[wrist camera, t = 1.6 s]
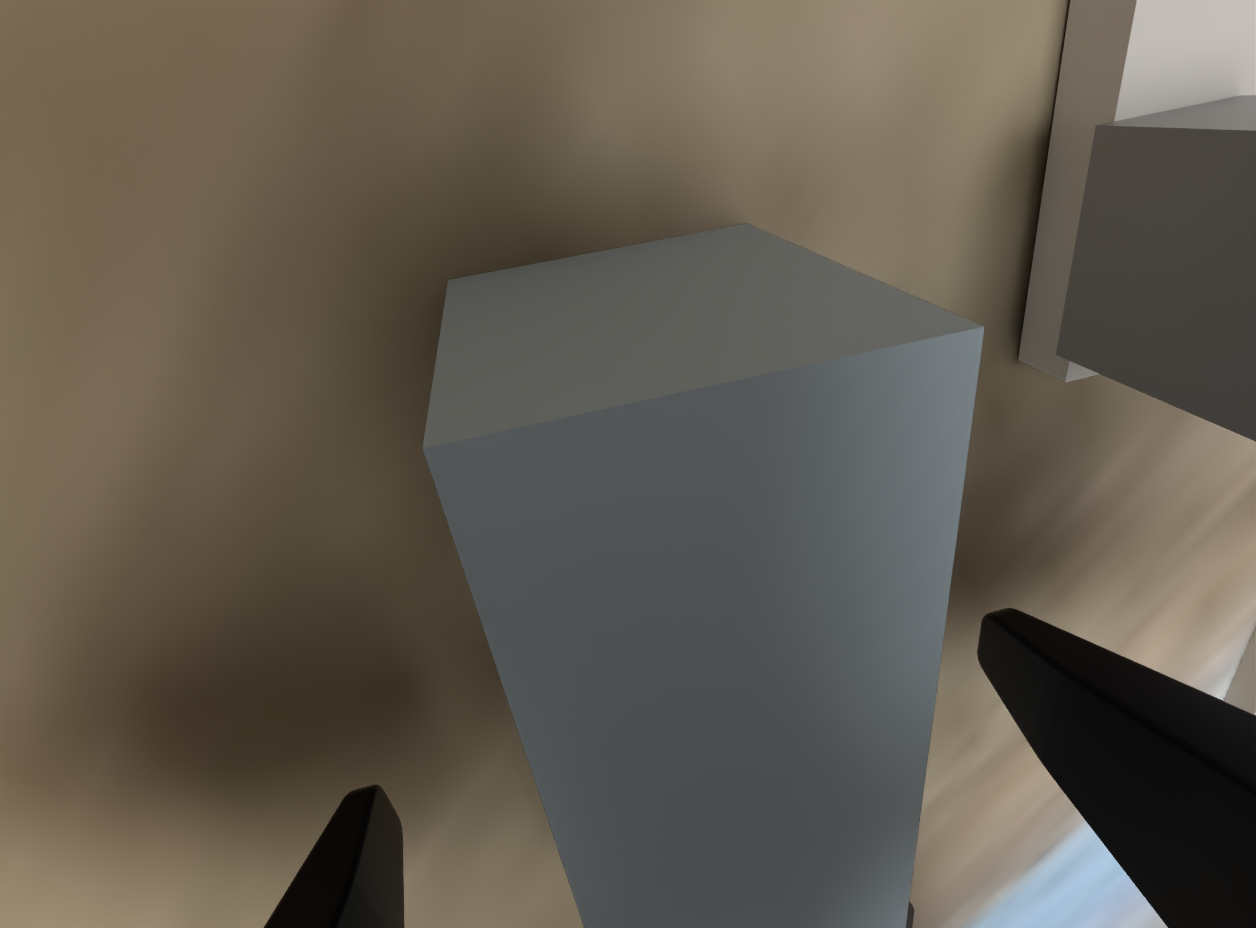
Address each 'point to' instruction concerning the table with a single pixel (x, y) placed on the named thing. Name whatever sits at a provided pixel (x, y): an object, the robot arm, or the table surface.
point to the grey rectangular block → (711, 564)
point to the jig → (1152, 207)
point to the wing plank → (1245, 680)
